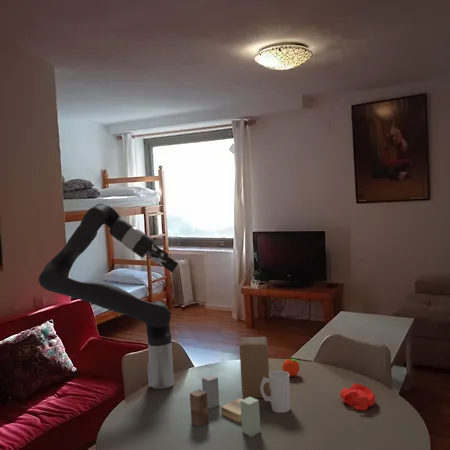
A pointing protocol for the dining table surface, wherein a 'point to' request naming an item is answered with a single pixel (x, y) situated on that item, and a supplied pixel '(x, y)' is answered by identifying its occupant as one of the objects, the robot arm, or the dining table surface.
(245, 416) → the sage post
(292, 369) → the clementine
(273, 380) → the mug
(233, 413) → the oak slab
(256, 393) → the wooden block
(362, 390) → the animal figurine
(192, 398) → the walnut post
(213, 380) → the grey post
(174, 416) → the dining table surface
